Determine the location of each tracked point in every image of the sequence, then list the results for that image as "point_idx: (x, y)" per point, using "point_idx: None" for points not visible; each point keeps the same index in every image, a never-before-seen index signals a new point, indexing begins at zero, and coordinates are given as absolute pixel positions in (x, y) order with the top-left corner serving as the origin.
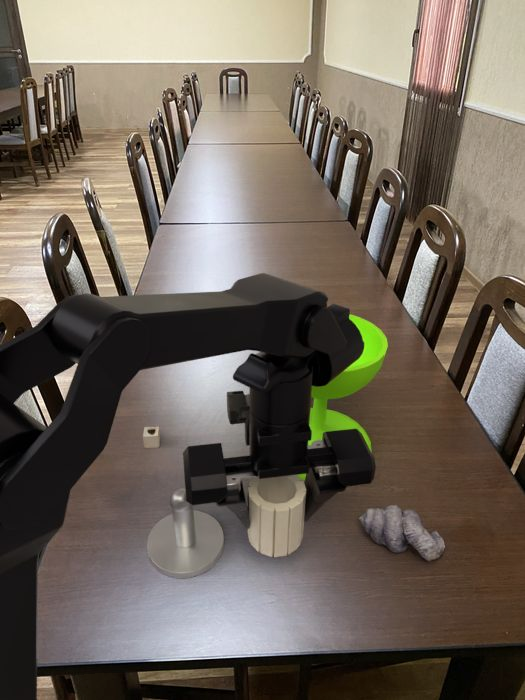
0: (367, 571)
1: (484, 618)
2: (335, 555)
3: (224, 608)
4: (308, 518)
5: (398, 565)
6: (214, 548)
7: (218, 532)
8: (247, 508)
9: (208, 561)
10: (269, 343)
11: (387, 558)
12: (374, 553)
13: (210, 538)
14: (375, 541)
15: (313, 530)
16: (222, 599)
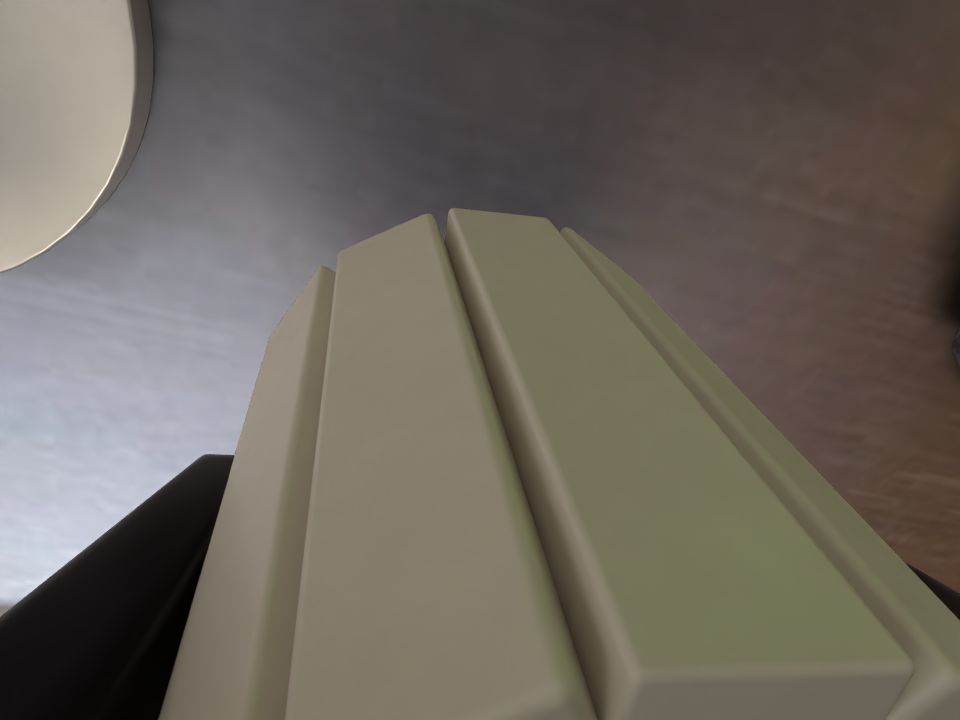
0: (810, 424)
1: None
2: (740, 324)
3: (139, 458)
4: None
5: (935, 425)
6: (64, 153)
7: (94, 15)
8: (202, 562)
9: (24, 242)
10: None
11: (925, 388)
12: (898, 355)
13: (28, 53)
14: (955, 356)
15: (729, 144)
16: (130, 418)
